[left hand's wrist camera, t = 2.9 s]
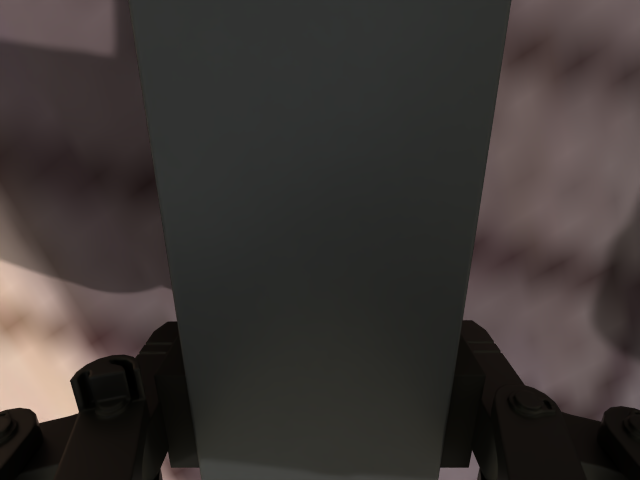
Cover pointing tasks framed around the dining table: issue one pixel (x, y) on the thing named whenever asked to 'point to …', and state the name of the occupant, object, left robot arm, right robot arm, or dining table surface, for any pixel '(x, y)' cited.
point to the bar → (319, 221)
